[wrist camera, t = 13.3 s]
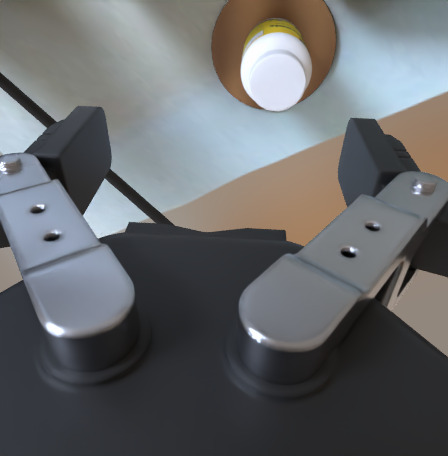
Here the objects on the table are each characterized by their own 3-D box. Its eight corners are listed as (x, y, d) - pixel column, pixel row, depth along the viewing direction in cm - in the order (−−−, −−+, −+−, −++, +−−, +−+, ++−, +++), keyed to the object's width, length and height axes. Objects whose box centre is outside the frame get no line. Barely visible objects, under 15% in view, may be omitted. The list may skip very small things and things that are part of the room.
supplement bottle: (317, 45, 35) (333, 80, 27) (274, 92, 38) (278, 136, 30) (272, 1, 33) (275, 24, 26) (230, 54, 36) (223, 89, 28)
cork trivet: (212, 105, 40) (211, 107, 39) (211, -26, 33) (211, -25, 33) (324, 110, 39) (324, 112, 39) (346, -22, 32) (347, -21, 32)
